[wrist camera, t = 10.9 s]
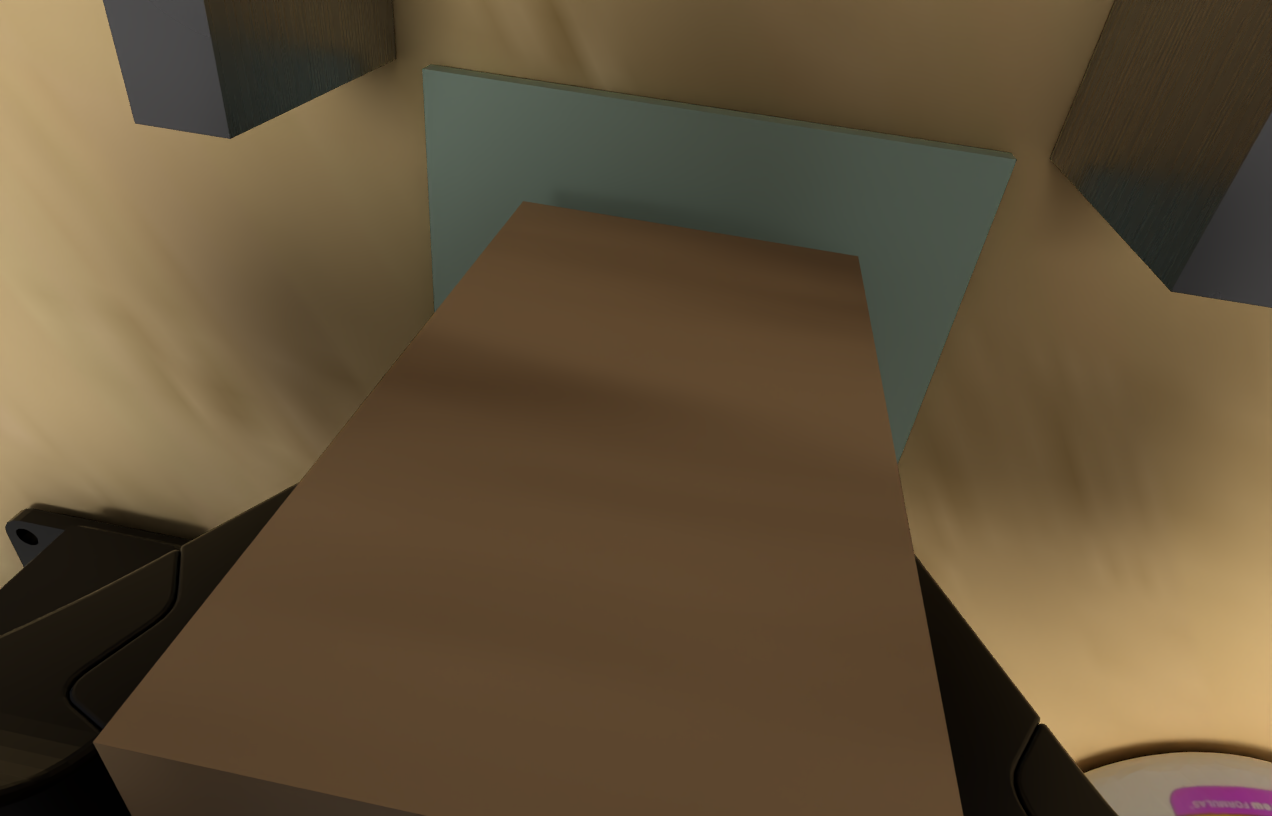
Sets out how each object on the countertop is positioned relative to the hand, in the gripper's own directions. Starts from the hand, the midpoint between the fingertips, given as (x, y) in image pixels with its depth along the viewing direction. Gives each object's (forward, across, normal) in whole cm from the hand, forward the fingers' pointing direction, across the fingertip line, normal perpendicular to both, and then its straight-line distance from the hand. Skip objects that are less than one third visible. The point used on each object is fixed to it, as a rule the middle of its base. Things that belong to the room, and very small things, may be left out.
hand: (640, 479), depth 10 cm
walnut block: (+2, 0, 0) cm, 2 cm away
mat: (+4, 0, 0) cm, 4 cm away
